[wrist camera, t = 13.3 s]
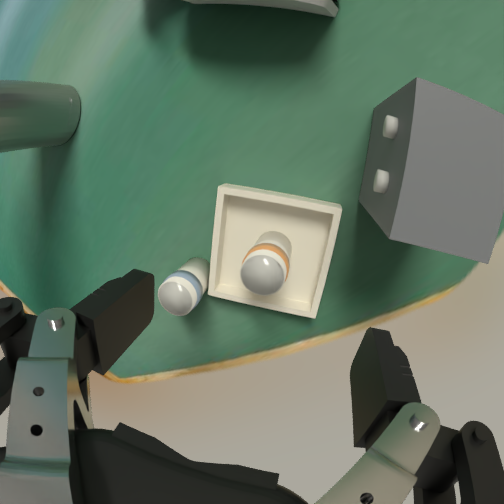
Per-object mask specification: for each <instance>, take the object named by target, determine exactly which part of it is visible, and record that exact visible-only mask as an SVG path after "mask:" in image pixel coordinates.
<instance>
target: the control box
mask: <svg viewBox="0 0 504 504" xmlns="http://www.w3.org/2000/svg"><path fill="white" fill-rule="evenodd" d="M358 201H359V202H360V203H361V204H362V206H363V207H364V208H365V209H366V210H367V212H368V213H369V214H370V215H371V217H372V218H373V219H374V220H375V222H376V223H377V224H378V225H379V227H380V228H381V229H382V230H383V232H384V233H385V234H386V236H387V237H388V238H389V239H392V240H396V241H400V242H404V243H408V244H413V245H417V246H421V247H425V248H429V249H433V250H437V251H441V252H445V253H449V254H453V255H456V256H460V257H464V258H468V259H471V260H475V261H479V262H482V263H486V264H488V263H489V260H490V256H491V254H492V250H493V247H494V244H495V241H496V237H497V234H498V230H499V227H500V223H501V219H502V215H503V211H504V115H503V114H501V113H499V112H498V111H496V110H494V109H492V108H490V107H488V106H486V105H484V104H482V103H480V102H477V101H475V100H473V99H471V98H469V97H467V96H464V95H462V94H460V93H457V92H455V91H453V90H450V89H448V88H445V87H443V86H440V85H437V84H435V83H432V82H429V81H426V80H424V79H421V78H418V77H416V78H415V79H414V80H412V81H411V82H409V83H408V84H406V85H405V86H404V87H402V88H401V89H399V90H398V91H397V92H395V93H394V94H393V95H391V96H390V97H388V98H387V99H386V100H384V101H383V102H382V103H380V104H379V105H377V106H376V107H375V108H374V112H373V119H372V126H371V133H370V139H369V146H368V152H367V158H366V163H365V169H364V174H363V180H362V185H361V190H360V195H359V200H358Z"/></svg>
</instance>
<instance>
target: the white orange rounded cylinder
mask: <svg viewBox="0 0 504 504" xmlns="http://www.w3.org/2000/svg"><path fill="white" fill-rule="evenodd" d="M291 253H292V245H291V242H290V240H289V239H288V238H287V237H286V236H285V235H284V234H282V233H280V232H277V231H269V232H265V233H264V234H262V235H261V236H260V237H259V238H258V240H257V241H256V243H255V244H254V246H253V247H252V248H251V249H250V250H249V251H248V253H247V254H246V256H245V257H244V259H243V262H242V266H241V269H240V277H241V281H242V283H243V284H244V286H245V287H246V288H247V289H248V290H249V291H250V292H252V293H254V294H257V295H261V296H268V295H272V294H274V293H276V292H278V291H279V290H280V289H281V288H282V286H283V284H284V283H285V281H286V279H287V277H288V273H289V268H290V263H289V262H290V258H291Z"/></svg>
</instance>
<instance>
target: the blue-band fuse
mask: <svg viewBox="0 0 504 504" xmlns="http://www.w3.org/2000/svg"><path fill="white" fill-rule="evenodd" d="M209 275H210V263H209V262H208V261H207V260H205V259H203V258H199V257H194V258H191V259H189V260H188V261H187V262H186V263H185V264H184V265H182V266H181V267H180V268H179V269H178V270H177V271H175V272H173V273H172V274H170V275H169V276H168V277H167V278H166V279H165V280H164V282H163V284H162V285H161V286H160V287H159V290H158V298H159V301H160V303H161V305H162V306H163V308H164V309H165V310H167V311H168V312H169V313H171V314H174V315H177V316H182V315H186V314H188V313H189V312H190V311H191V310H193V309H194V308H195V307H196V305H197V304H198V303H199V301H200V300H201V298H202V296H203V294H204V293H205V291H206V290H207V289H208V287H209Z"/></svg>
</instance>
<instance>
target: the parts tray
mask: <svg viewBox="0 0 504 504" xmlns="http://www.w3.org/2000/svg"><path fill="white" fill-rule="evenodd" d="M341 213H342V207H341V205H340V204H336V203H332V202H327V201H322V200H317V199H312V198H307V197H302V196H297V195H291V194H286V193H280V192H275V191H269V190H263V189H257V188H251V187H245V186H239V185H232V184H226V183H225V184H223V185H220V186H218V193H217V202H216V211H215V221H214V231H213V241H212V252H211V263H210V275H209V287H208V295H211V296H215V297H219V298H223V299H227V300H232V301H236V302H240V303H245V304H249V305H253V306H258V307H262V308H267V309H271V310H276V311H281V312H286V313H290V314H295V315H300V316H305V317H310V318H316V314H317V311H318V307H319V303H320V300H321V296H322V292H323V289H324V285H325V281H326V277H327V273H328V269H329V265H330V261H331V257H332V253H333V249H334V244H335V240H336V236H337V231H338V227H339V222H340V218H341ZM269 231H277V232H280V233H282V234H284V235H285V236H286V237H287V238H288V239H289V240H290V242H291V245H292V253H291V258H290V262H289V263H290V268H289V273H288V277H287V279H286V281H285V283H284V284H283V286H282V288H281V289H280V290H279V291H278V292H276V293H274V294H272V295H268V296H261V295H257V294H254V293H252V292H250V291H249V290H248V289H247V288H246V287H245V286H244V284H243V283H242V281H241V277H240V269H241V266H242V262H243V259H244V257H245V256H246V254H247V253H248V251H249V250H250V249H251V248H252V247H253V246H254V244H255V243H256V241H257V240H258V238H259V237H260V236H261V235H262V234H264V233H265V232H269Z"/></svg>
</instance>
